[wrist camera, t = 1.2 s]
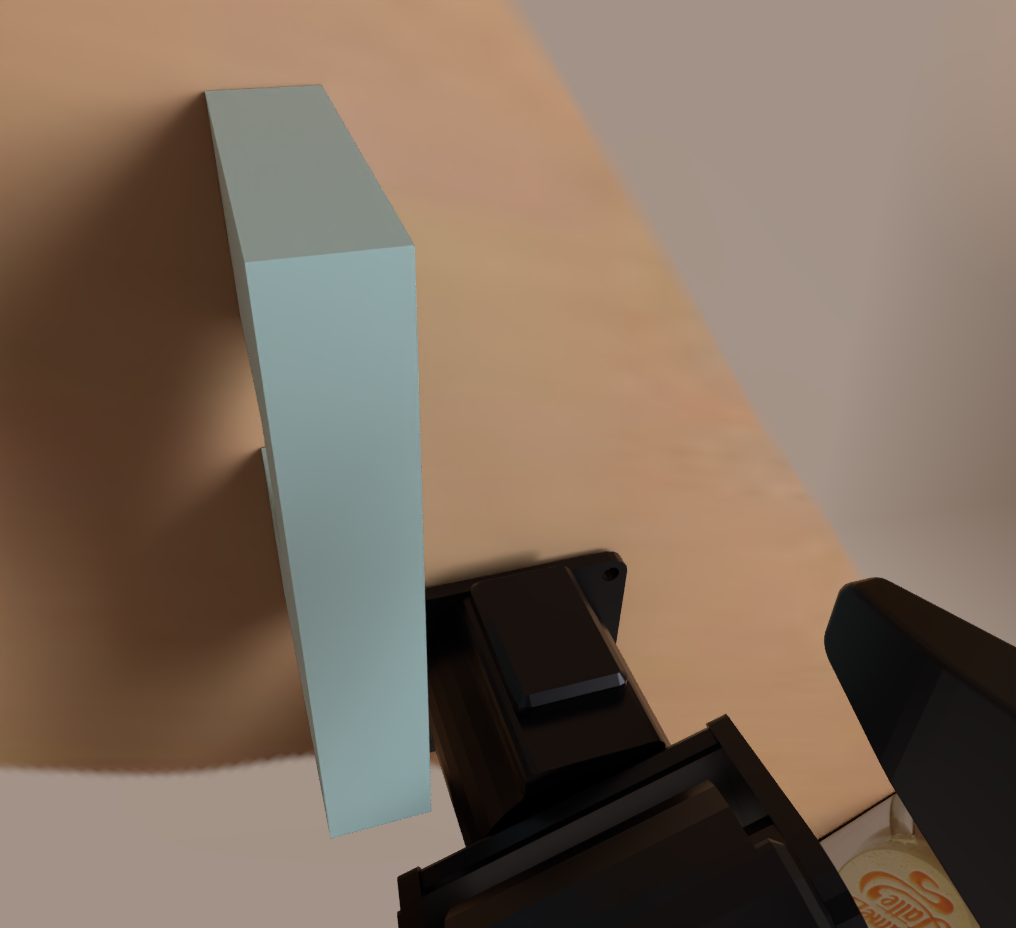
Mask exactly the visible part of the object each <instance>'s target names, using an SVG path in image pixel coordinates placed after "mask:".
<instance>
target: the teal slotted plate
mask: <svg viewBox="0 0 1016 928" xmlns="http://www.w3.org/2000/svg"><path fill="white" fill-rule="evenodd" d="M205 96H206V102H207V109H208V115H209V121H210V128H211V134H212V140H213V147H214V153H215V159H216V166H217V172H218V178H219V185H220V191H221V197H222V203H223V210H224V216H225V222H226V229H227V235H228V241H229V248H230V254H231V260H232V267H233V273H234V279H235V286H236V292H237V298H238V305H239V311H240V317H241V323H242V327H243V332H244V337H245V342H246V347H247V352H248V357H249V362H250V367H251V372H252V377H253V382H254V386H255V391H256V396H257V401H258V406H259V411H260V416H261V421H262V427H263V434H264V440H265V447H266V448H261V450H262V456H263V462H264V469H265V475H266V481H267V488H268V494H269V500H270V507H271V513H272V519H273V526H274V532H275V538H276V545H277V551H278V557H279V564H280V570H281V576H282V582H283V589H284V594H285V600H286V605H287V610H288V615H289V621H290V626H291V631H292V637H293V642H294V647H295V653H296V658H297V663H298V668H299V674H300V679H301V684H302V690H303V695H304V700H305V705H306V711H307V716H308V721H309V727H310V732H311V737H312V742H313V748H314V753H315V758H316V764H317V769H318V774H319V780H320V785H321V790H322V795H323V801H324V806H325V811H326V817H327V822H328V827H329V832H330V838H334V837H338V836H342V835H346V834H349V833H353V832H357V831H360V830H364V829H368V828H372V827H375V826H379V825H383V824H386V823H390V822H394V821H397V820H401V819H405V818H408V817H412V816H416V815H419V814H423V813H427V812H430V811H431V788H430V787H431V786H430V785H431V784H430V750H429V716H428V682H427V648H426V614H425V580H424V546H423V512H422V478H421V444H420V410H419V376H418V341H417V307H416V273H415V245H414V243H413V241H412V240H411V238H410V236H409V234H408V233H407V231H406V229H405V228H404V226H403V224H402V222H401V221H400V219H399V217H398V216H397V214H396V212H395V210H394V209H393V207H392V205H391V203H390V202H389V200H388V198H387V197H386V195H385V193H384V191H383V190H382V188H381V186H380V184H379V183H378V181H377V179H376V178H375V176H374V174H373V172H372V171H371V169H370V167H369V166H368V164H367V162H366V160H365V159H364V157H363V155H362V153H361V152H360V150H359V148H358V147H357V145H356V143H355V141H354V140H353V138H352V136H351V134H350V133H349V131H348V129H347V128H346V126H345V124H344V122H343V121H342V119H341V117H340V116H339V114H338V112H337V110H336V109H335V107H334V105H333V103H332V102H331V100H330V98H329V97H328V95H327V93H326V91H325V90H324V88H323V86H322V85H309V86H291V87H272V88H253V89H235V90H216V91H205Z"/></svg>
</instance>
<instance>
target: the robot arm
mask: <svg viewBox="0 0 1016 928" xmlns="http://www.w3.org/2000/svg"><path fill="white" fill-rule="evenodd" d="M607 569H609V570H607ZM606 570H607V571H606ZM626 575H627V566H626V564H625V563H624V561H623V560H622V558H621V556H620V555H619V554H618V553H616V552H604V553H599V554H594V555H589V556H584V557H579V558H574V559H569V560H564V561H560V562H555V563H550V564H545V565H540V566H535V567H530V568H525V569H521V570H516V571H511V572H506V573H501V574H496V575H491V576H486V577H481V578H477V579H472V580H467V581H462V582H457V583H452V584H447V585H442V586H438V587H433V588H428V589H425V614H426V648H427V682H428V716H429V750H430V752H433V751H436V753H437V756H438V759H439V762H440V766H441V769H442V772H443V775H444V778H445V782H446V785H447V788H448V791H449V795H450V798H451V801H452V804H453V807H454V811H455V814H456V817H457V820H458V823H459V827H460V830H461V833H462V836H463V840H464V843H465V846H466V847H465V848H463V849H461V850H459V851H457V852H455V853H453V854H451V855H449V856H447V857H445V858H443V859H441V860H439V861H437V862H435V863H433V864H431V865H429V866H427V867H425V868H423V869H421V868H420V867H416V868H414V869H412V870H410V871H408V872H407V873H404V874H402V875H400V876H398V877H397V878H398V879H397V881H398V889H399V890H398V891H399V900H400V911H398V912H397V918H398V927H399V928H868V926H867V924H866V922H865V920H864V918H863V916H862V914H861V912H860V910H859V908H858V906H857V905H856V903H855V901H854V899H853V897H852V895H851V894H850V892H849V890H848V888H847V886H846V885H845V883H844V881H843V880H842V878H841V876H840V875H839V873H838V871H837V869H836V868H835V866H834V864H833V863H832V861H831V860H830V858H829V857H828V855H827V853H826V852H825V850H824V849H823V847H822V846H821V844H820V843H819V841H818V840H817V838H816V837H815V835H814V834H813V832H812V831H811V830H810V828H809V827H808V825H807V824H806V823H805V821H804V820H803V819H802V817H801V816H800V814H799V813H798V812H797V810H796V809H795V808H794V806H793V805H792V803H791V802H790V801H789V799H788V798H787V797H786V795H785V794H784V792H783V791H782V790H781V788H780V787H779V786H778V784H777V783H776V781H775V780H774V779H773V777H772V776H771V775H770V773H769V772H768V770H767V769H766V768H765V766H764V765H763V764H762V762H761V761H760V759H759V758H758V757H757V755H756V754H755V753H754V751H753V750H752V748H751V747H750V746H749V744H748V743H747V742H746V740H745V739H744V737H743V736H742V735H741V733H740V732H739V731H738V729H737V728H736V726H735V725H734V724H733V722H732V721H731V720H730V718H729V717H728V716H727V714H725V715H723V716H720V717H718V718H716V719H714V720H712V721H710V722H708V723H706V726H707V728H705V729H703V730H701V731H699V732H697V733H695V734H693V735H691V736H689V737H687V738H685V739H683V740H681V741H679V742H677V743H675V744H673V745H671V744H670V742H669V740H668V739H667V737H666V735H665V733H664V731H663V729H662V728H661V726H660V724H659V722H658V720H657V718H656V717H655V715H654V713H653V711H652V709H651V708H650V706H649V704H648V702H647V700H646V698H645V697H644V695H643V693H642V691H641V689H640V687H639V686H638V684H637V682H636V680H635V678H634V676H633V675H632V673H631V671H630V669H629V667H628V665H627V664H626V662H625V660H624V658H623V656H622V655H621V653H620V651H619V649H618V647H617V645H616V640H617V634H618V627H619V621H620V614H621V608H622V601H623V594H624V588H625V581H626ZM824 645H825V650H826V654H827V657H828V659H829V661H830V663H831V665H832V667H833V670H834V672H835V674H836V676H837V678H838V680H839V682H840V684H841V686H842V688H843V690H844V692H845V694H846V696H847V698H848V700H849V702H850V704H851V706H852V708H853V710H854V712H855V714H856V716H857V718H858V720H859V722H860V724H861V726H862V728H863V730H864V732H865V734H866V736H867V738H868V740H869V742H870V744H871V746H872V748H873V750H874V752H875V754H876V756H877V758H878V760H879V762H880V764H881V766H882V768H883V770H884V772H885V774H886V776H887V777H888V779H889V781H890V783H891V785H892V786H893V788H894V790H895V791H896V793H897V795H898V796H899V798H900V800H901V801H902V803H903V805H904V806H905V808H906V810H907V811H908V813H909V814H910V816H911V818H912V819H913V821H914V822H915V824H916V826H917V827H918V829H919V830H920V832H921V834H922V835H923V837H924V838H925V840H926V842H927V843H928V845H929V846H930V848H931V850H932V851H933V853H934V854H935V856H936V858H937V859H938V861H939V862H940V864H941V866H942V867H943V869H944V870H945V872H946V874H947V875H948V877H949V878H950V880H951V882H952V883H953V885H954V886H955V888H956V890H957V891H958V893H959V894H960V896H961V898H962V899H963V901H964V902H965V904H966V906H967V907H968V909H969V910H970V912H971V914H972V915H973V917H974V918H975V920H976V922H977V923H978V925H979V926H980V928H1016V647H1015V646H1013V645H1011V644H1009V643H1007V642H1005V641H1003V640H1001V639H999V638H997V637H996V636H993V635H992V634H990V633H988V632H986V631H984V630H982V629H980V628H978V627H976V626H974V625H972V624H971V623H969V622H967V621H965V620H963V619H961V618H959V617H957V616H955V615H953V614H951V613H950V612H948V611H946V610H944V609H942V608H940V607H938V606H936V605H934V604H932V603H931V602H929V601H926V600H925V599H923V598H921V597H919V596H917V595H915V594H913V593H911V592H909V591H908V590H906V589H904V588H902V587H900V586H898V585H896V584H894V583H892V582H890V581H888V580H886V579H883V578H878V577H873V578H867V579H863V580H859V581H855V582H850V583H847V584H845V585H844V586H843V587H842V588H841V589H840V591H839V593H838V596H837V599H836V602H835V605H834V608H833V611H832V614H831V617H830V620H829V623H828V626H827V628H826V631H825V636H824Z"/></svg>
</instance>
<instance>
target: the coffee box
mask: <svg viewBox="0 0 1016 928" xmlns="http://www.w3.org/2000/svg"><path fill="white" fill-rule="evenodd" d="M819 843H820V844H821V846H822V847H823V849H824V850H825V852H826V853H827V855H828V857H829V858H830V860H831V861H832V863H833V864H834V866H835V868H836V869H837V871H838V873H839V875H840V876H841V878H842V880H843V881H844V883H845V885H846V886H847V888H848V890H849V892H850V894H851V895H852V897H853V899H854V901H855V903H856V905H857V906H858V908H859V910H860V912H861V914H862V916H863V918H864V920H865V922H866V924H867V926H868V928H980V926H979V925H978V923H977V922H976V920H975V918H974V917H973V915H972V914H971V912H970V910H969V909H968V907H967V906H966V904H965V902H964V901H963V899H962V898H961V896H960V894H959V893H958V891H957V890H956V888H955V886H954V885H953V883H952V882H951V880H950V878H949V877H948V875H947V874H946V872H945V870H944V869H943V867H942V866H941V864H940V862H939V861H938V859H937V858H936V856H935V854H934V853H933V851H932V850H931V848H930V846H929V845H928V843H927V842H926V840H925V838H924V837H923V835H922V834H921V832H920V830H919V829H918V827H917V826H916V824H915V822H914V821H913V819H912V818H911V816H910V814H909V813H908V811H907V810H906V808H905V806H904V805H903V803H902V801H901V800H900V798H899V796H898V795H897V793H896V794H894V795H893V796H891V797H890V798H888V799H886V800H885V801H883V802H882V803H880V804H879V805H877V806H875V807H874V808H872V809H871V810H869V811H868V812H866V813H865V814H863V815H861V816H860V817H858V818H857V819H855V820H854V821H852V822H851V823H849V824H848V825H846V826H844V827H843V828H841V829H840V830H838V831H836V832H835V833H833V834H832V835H830V836H829V837H827V838H825V839H824V840H822V841H821V842H819Z"/></svg>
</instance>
